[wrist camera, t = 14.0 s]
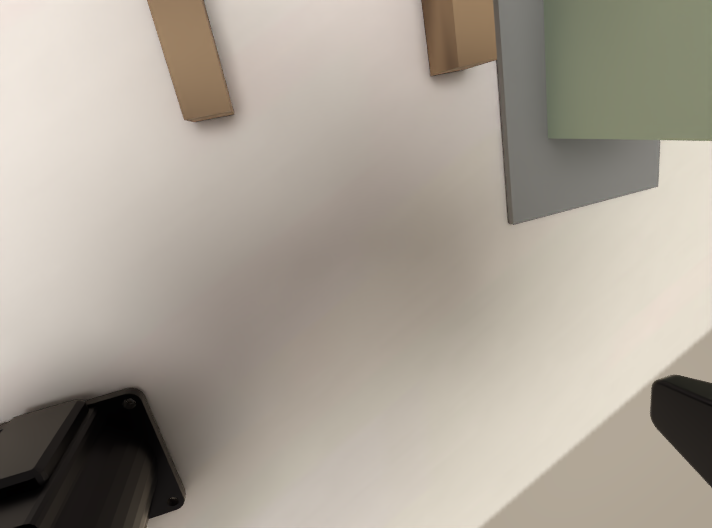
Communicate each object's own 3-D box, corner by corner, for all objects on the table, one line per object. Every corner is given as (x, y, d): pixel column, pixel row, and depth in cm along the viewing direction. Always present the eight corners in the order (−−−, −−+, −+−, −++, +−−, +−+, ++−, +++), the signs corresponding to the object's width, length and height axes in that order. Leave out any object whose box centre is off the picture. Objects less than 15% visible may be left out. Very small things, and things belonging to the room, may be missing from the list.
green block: (629, -58, 17) (918, -205, 10) (624, 121, 19) (855, 113, 12) (542, -46, 17) (780, -192, 9) (547, 138, 19) (742, 140, 11)
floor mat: (650, 185, 21) (658, 186, 21) (508, 223, 20) (513, 224, 20) (665, -165, 17) (675, -171, 16) (482, -145, 15) (487, -152, 15)
